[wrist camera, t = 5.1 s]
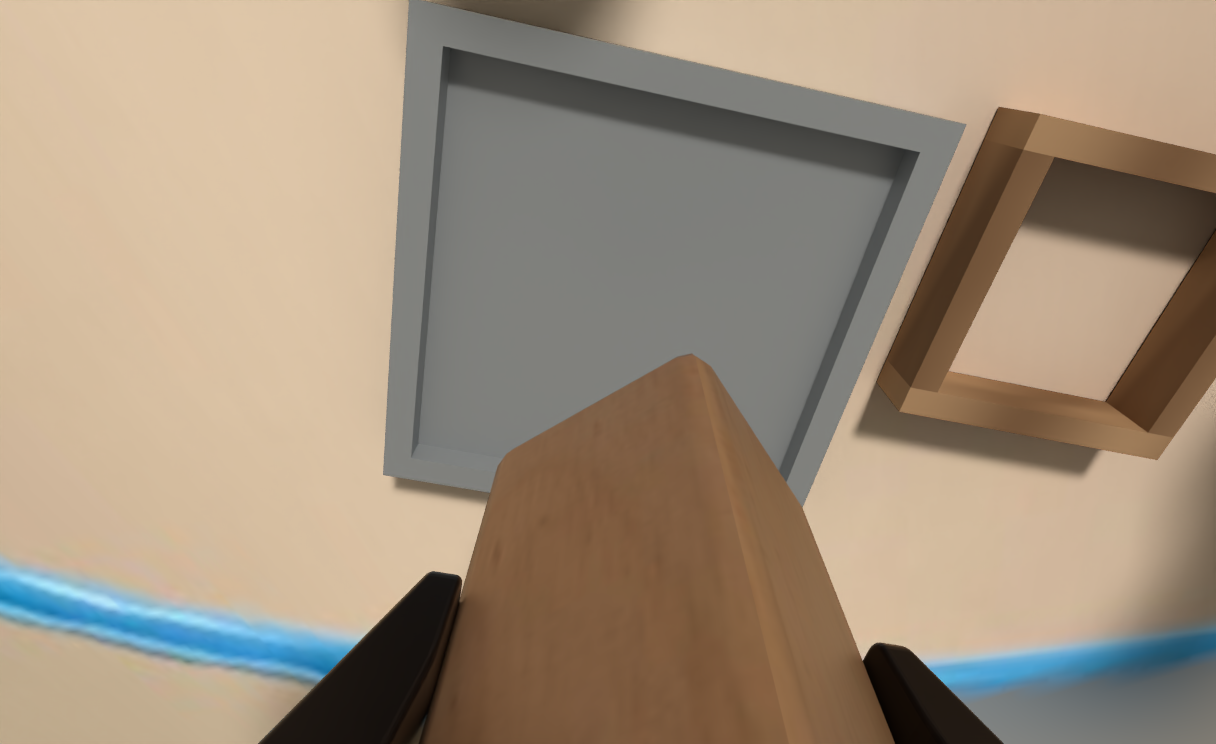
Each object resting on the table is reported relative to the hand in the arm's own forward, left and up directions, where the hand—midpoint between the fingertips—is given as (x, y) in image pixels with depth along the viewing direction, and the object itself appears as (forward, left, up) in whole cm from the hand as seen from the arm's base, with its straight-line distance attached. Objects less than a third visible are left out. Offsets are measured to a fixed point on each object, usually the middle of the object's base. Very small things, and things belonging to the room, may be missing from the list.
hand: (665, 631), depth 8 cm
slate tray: (0, 0, -12) cm, 12 cm away
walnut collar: (-12, -3, -12) cm, 17 cm away
